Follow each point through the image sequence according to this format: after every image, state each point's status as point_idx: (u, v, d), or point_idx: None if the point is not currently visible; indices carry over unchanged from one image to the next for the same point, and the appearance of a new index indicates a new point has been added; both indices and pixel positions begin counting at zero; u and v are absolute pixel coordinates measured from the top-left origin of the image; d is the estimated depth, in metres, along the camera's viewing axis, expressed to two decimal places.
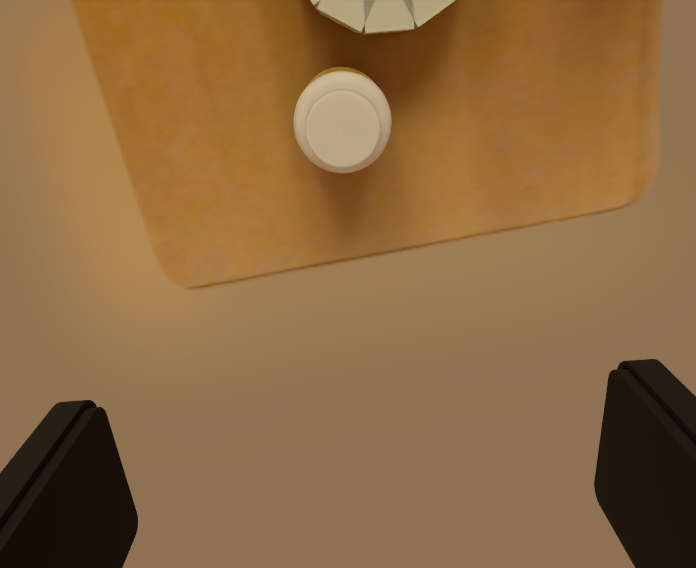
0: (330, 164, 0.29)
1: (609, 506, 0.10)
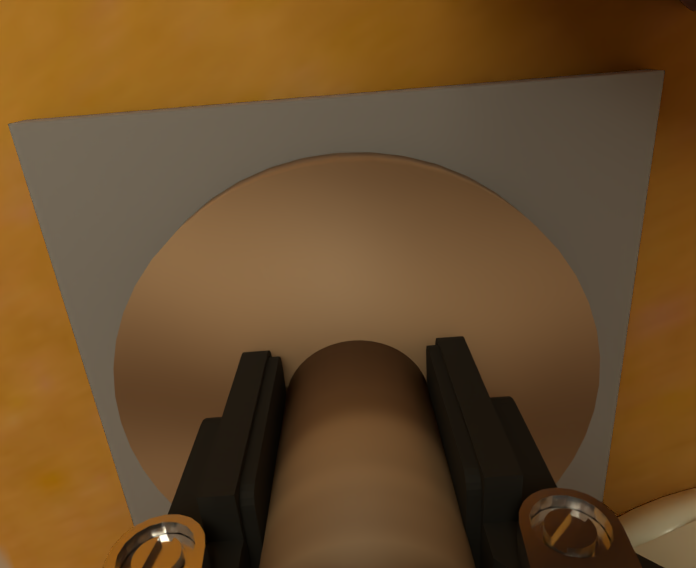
0: None
1: None
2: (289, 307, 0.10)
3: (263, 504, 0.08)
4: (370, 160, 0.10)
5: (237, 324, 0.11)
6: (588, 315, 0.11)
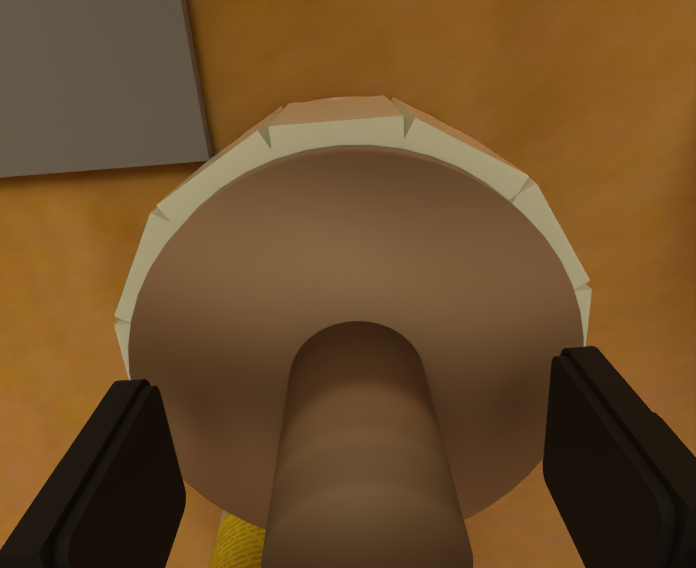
0: None
1: (554, 486, 0.10)
2: (293, 289, 0.11)
3: (92, 555, 0.07)
4: (369, 152, 0.10)
5: (244, 305, 0.11)
6: (572, 298, 0.11)
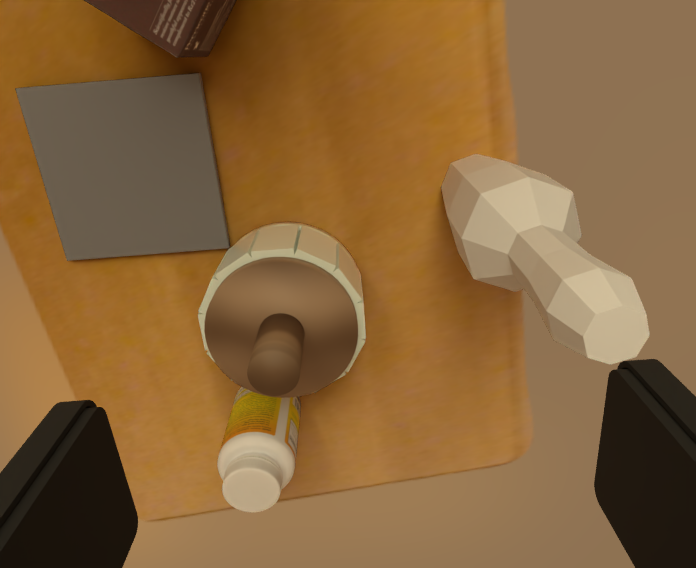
0: None
1: (609, 506, 0.10)
2: (259, 303, 0.35)
3: None
4: (281, 261, 0.34)
5: (243, 308, 0.35)
6: (350, 305, 0.35)
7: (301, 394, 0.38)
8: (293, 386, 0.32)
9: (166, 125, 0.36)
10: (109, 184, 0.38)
